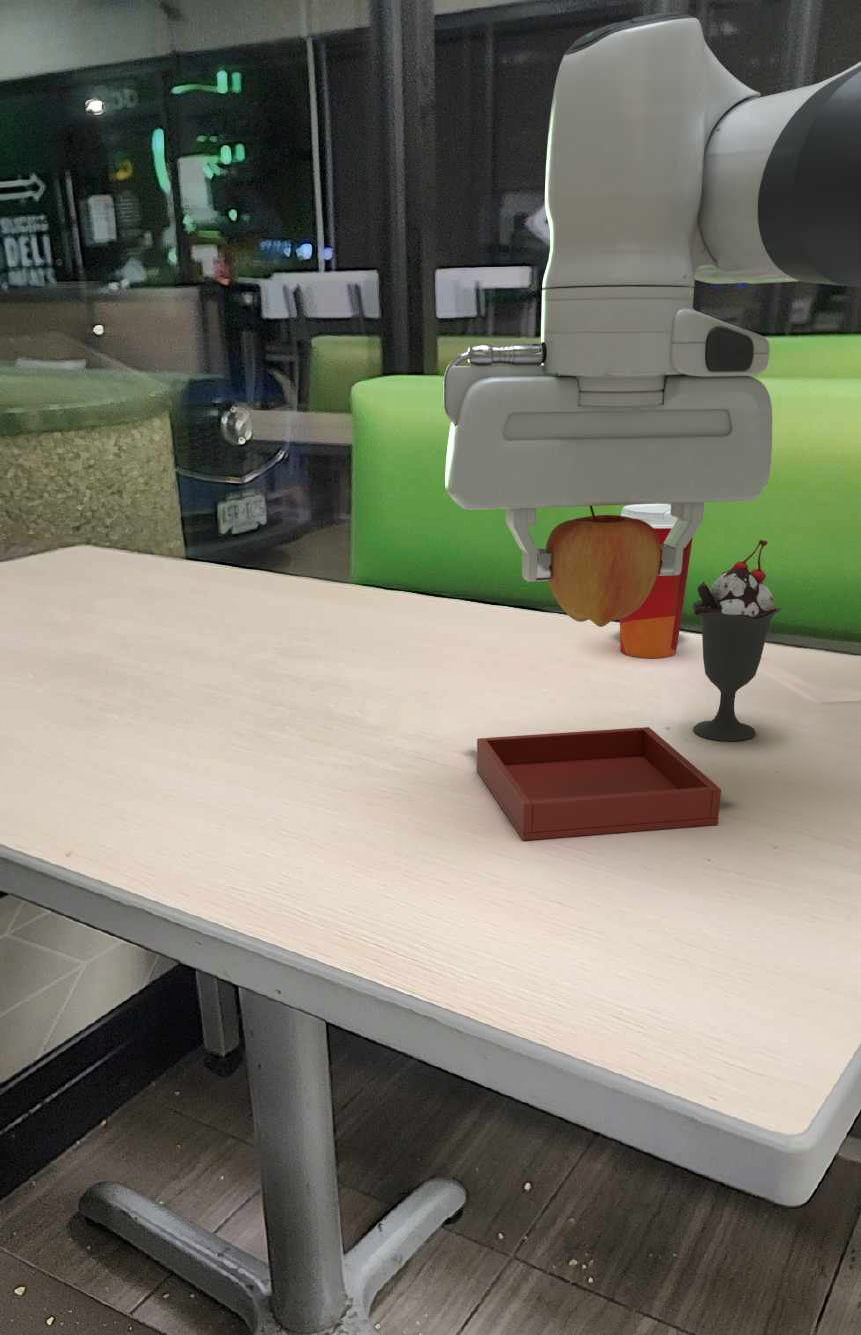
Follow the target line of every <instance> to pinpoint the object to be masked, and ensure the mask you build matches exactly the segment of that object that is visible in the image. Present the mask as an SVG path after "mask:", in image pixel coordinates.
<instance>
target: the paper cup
mask: <svg viewBox="0 0 861 1335" xmlns="http://www.w3.org/2000/svg"><path fill="white" fill-rule="evenodd" d="M670 511H671V503H664V504H633V505H624V506H623V507H622V509H621V513H620V516H624V517H629V518H633V519H639V520H642V521H644V522H646V523H648V524H649V525H650V526H652V527H653V528H654V530H655V531H656V533H657V535H658V537H659V541H660V544H664V542H665V540H666V538H667V536H668V535H669V533H670V531H671V529H672V528H673V526H674V524H675V522H676V520H677V519H678V518H675V517H673V516H671V515H670ZM693 538H694V536H693V537H692V538H691V540H690V541H689V543H688V544H687V546H686V547H685V548H683V559H682V570H681V573H680V574H679V575H668V576H658V575H657V578H656V581H655V584H654V586H653V588H652V590H651V592H650V594H649V596H648V597H647V599H646V600H645V602H644V603H643V604H642V605H641V606H640V607H639V608H638V609H637V610H636V611H635V612H633V613H632V614H630V615H628V616H626V617H624V618H622V619H620V620H619V648H620V652H621V654H624V655H625V656H629V657H633V658H634V657H635V658H641V659H662V658H669V657H671V656H674V655H675V654H676V652H677V648H678V644H679V637H680V630H681V623H682V618H683V617H682V616H683V610H684V602H685V594H686V589H687V588H686V587H687V581H688V573H689V566H690V558H691V551H692V544H693Z"/></svg>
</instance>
